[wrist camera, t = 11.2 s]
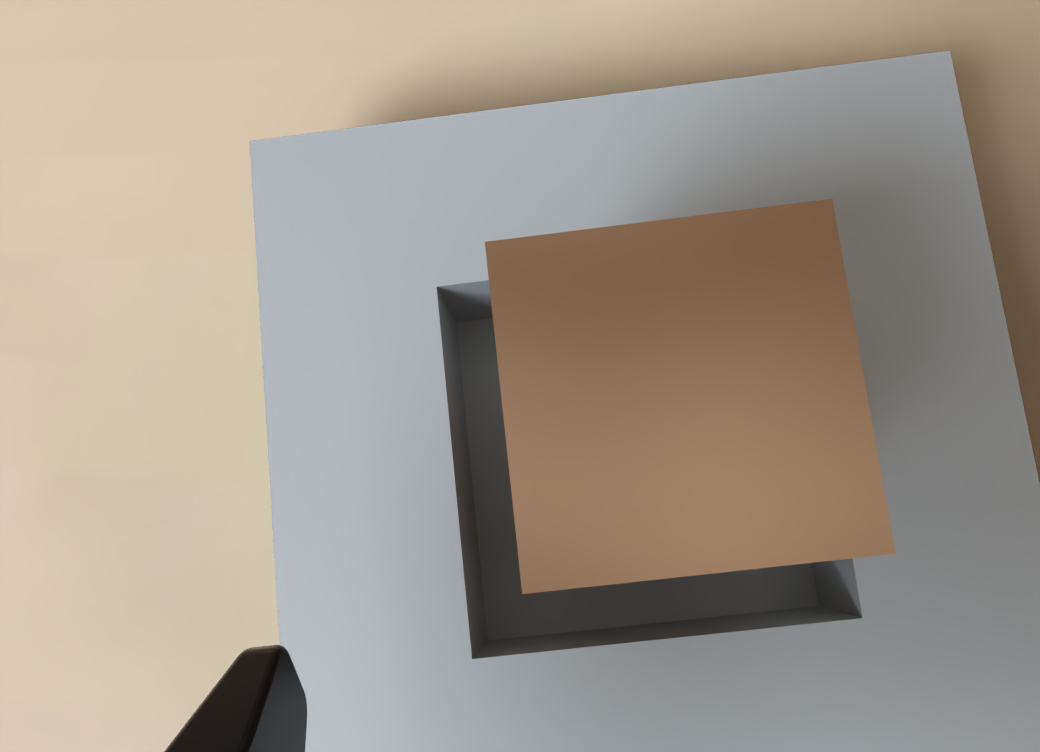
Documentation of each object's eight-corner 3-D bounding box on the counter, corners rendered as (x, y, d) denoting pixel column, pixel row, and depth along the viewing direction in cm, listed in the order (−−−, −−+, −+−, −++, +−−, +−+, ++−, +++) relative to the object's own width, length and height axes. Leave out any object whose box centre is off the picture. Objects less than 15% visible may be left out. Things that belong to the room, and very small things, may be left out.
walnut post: (736, 545, 20) (895, 553, 10) (549, 566, 20) (521, 594, 10) (709, 361, 20) (832, 198, 11) (529, 383, 21) (485, 242, 11)
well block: (1000, 753, 20) (1107, 808, 16) (349, 817, 20) (294, 886, 16) (883, 137, 22) (949, 50, 18) (306, 209, 23) (249, 140, 19)
